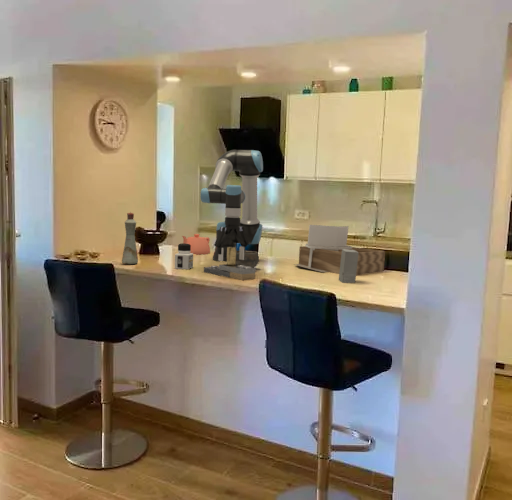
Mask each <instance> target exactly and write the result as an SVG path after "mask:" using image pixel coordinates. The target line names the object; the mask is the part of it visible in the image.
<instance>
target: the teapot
mask: <svg viewBox="0 0 512 500" xmlns="http://www.w3.org/2000/svg"><path fill="white" fill-rule="evenodd" d="M181 237H182V239H183V242H182V243H186V244H190V245H191V252H190V253H193V254H196V256H200V255H201V254H203V255H208V253H209V254H211V248H210V240H211V239H210V237H206V236H205V237H203V236H200V234H199V233H194V234H193V236H188V237H187V236H185V235H181Z"/></svg>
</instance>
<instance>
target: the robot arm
mask: <svg viewBox="0 0 512 500" xmlns="http://www.w3.org/2000/svg"><path fill="white" fill-rule="evenodd" d="M234 171H235V172H239V176H240V177H241V179H242V180H241V182H242V183H241V185H242V186H241V185H239V184H238V185H237V184H227V185H226V187H225V184H226V182H227V179H228V177H229V174H231V172H234ZM263 171H264V161H263V156H262V153H261V151H259V150H254V149H231V150H228V151H226V152H224V153H222V155H221V156H219V158H218V159H217V160H216V162H215V170H214V172H213V174H212V177H211V179H210V182H209V184H208V187H204V188H203V187H202V189H201V190H200V201H201V202H202V203H203V204H219V205H220V204H222V205H223V204H224V205H225V209H224V210H225V212H224V214H225V215H224V216H225V218H224V221H219V222H217V224H216V230H215V231H216V235H215V242H214V244H213V246H214V247H215V249H214V252H213V255H212V261H215V262H220V261H226V262H225V263H227V247H236V248H237V244H239V245H240V246H239V251H240V252H239V259H241V260H244V253H245V251H246V247H247V246H249V245H258V244H260V242H261V238H262V233H263V224H261V221H260V219H258V178H259V176H261V173H262V172H263ZM224 187H225V188H224ZM241 205H242V206H241ZM241 214H242V216H241ZM236 251H238V250H237V249H236Z"/></svg>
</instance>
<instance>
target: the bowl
mask: <svg viewBox="0 0 512 500" xmlns="http://www.w3.org/2000/svg"><path fill="white" fill-rule="evenodd" d="M239 252H240V250H237V251H236V265H245V266H250V267H252V268H256V267H257V266H258V264H259V262H260V259H259V258H260V256H259V253H258V251H255V250H253V251H252V250H245V253H244V260H241V259H239Z"/></svg>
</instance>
